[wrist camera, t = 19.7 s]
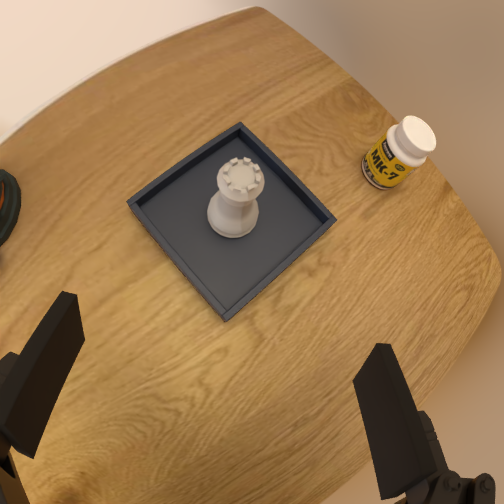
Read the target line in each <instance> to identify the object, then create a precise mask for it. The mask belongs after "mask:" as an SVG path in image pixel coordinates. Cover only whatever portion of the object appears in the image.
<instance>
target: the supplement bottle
mask: <svg viewBox="0 0 504 504" xmlns="http://www.w3.org/2000/svg"><path fill="white" fill-rule="evenodd" d="M435 146H436V139H435V135H434V134H433V131H432V130H431V128H430V127H429V126H428V125H427V124H426V123H425V122H424V121H423V120H421V119H420V118H417V117H415V116H407V117H405V118H404V119H403V120H402V121H401V122H400V123H399V124H397V125H394V126H392V127H390V128H389V129H388V130H387V131H386V133H385V134H384V135H383V136H382V137H381V138H380V139H379V140H378V142H377V143H376V144H375V145H374V146H373V147H372V148H371V149H370V150H369V152H367V154H366V155H365V156H364V158H363V161H362V169H363V172H364V175H365V176H366V178H367V179H368V180H369V182H371V183H372V184H373V185H374V186H376V187H377V188H380V189H385V190H387V189H391V188H393V187H395V186H396V185H397V184H398V183H400V182H401V181H402V180H403V179H405V178H406V177H407V176H409V175H410V174H411V173H412V172H414V171H415V170H416V169H417V168H419V167H420V166H421V165H422V164H423V163H424V162H425V160H426V157H427V156H428V155H429V154H430V152H432V151H433V150H434V149H435Z"/></svg>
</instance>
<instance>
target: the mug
mask: <svg viewBox="0 0 504 504" xmlns="http://www.w3.org/2000/svg"><path fill="white" fill-rule="evenodd" d="M20 207H21V190H20V188H19V186H18V183H17V181H16V179H15V178H14V177H13V176H12V175H11V174H9V173H8V172H6V171H5V170H3V169H0V246H1V245H2V244H3V243H4V242H5V241H6V240H7V239H8V237H9V235H10V234H11V232H12V230H13V228H14V226H15V224H16V223H17V219H18V215H19V211H20Z"/></svg>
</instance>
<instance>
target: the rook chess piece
mask: <svg viewBox="0 0 504 504" xmlns="http://www.w3.org/2000/svg"><path fill="white" fill-rule="evenodd" d="M250 161H251V159H249V158H245V157H244V159H243V160H238V159H237V158H234V159H232V160H230V162H228V163H226V164H225V165H224V166H223V167H222V168H221V169H220V170H219V173H218V176H217V183H218V187H219V191H218V192H217V193H216V194H215V195H214V196H213V197H212V198H211V200H210V203H209V206H208V210H207V215H208V221H209V223H210V225H211V227H212V228H213V229H214V230H215V231H216V232H217V233H219V234H220V235H222V236H225V237H229V238H237V237H242V236H244V235H246V234H248V233H250V231H251V230H252V229H253V228H254V227H255V225H256V222H257V218H258V214H259V210H258V203H257V201H256V200H255V199H256V197H257V196H258V195H259V194H260V193H261V192H262V190H263V187H264V183H265V182H264V175H263V173H262V172H261V170H260V167H259V166H258V164H253V163H252V162H250Z"/></svg>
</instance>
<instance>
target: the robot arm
mask: <svg viewBox="0 0 504 504" xmlns="http://www.w3.org/2000/svg"><path fill="white" fill-rule="evenodd" d="M84 341H85V337H84V332H83V327H82V322H81V316H80V310H79V305H78V298H77V295H76V294H72V293H68V292H64V291H62V292H61V293H60V294H59V296H58V297H57V299H56V300H55V301H54V303H53V304H52V306H51V307H50V309H49V310H48V312H47V313H46V315H45V316H44V317H43V319H42V320H41V322H40V323H39V325H38V326H37V328H36V330H35V331H34V333H33V334H32V336H31V337H30V339H29V340H28V342H27V344H26V345H25V347H24V348H23V350H22V352H21V353H20V355H18V354H15V353H13V352H9V353H8V354H7V355H5V356H4V357H3V358H2V359H1V360H0V504H30V503H29V500H28V498H27V496H26V493H25V491H24V488H23V486H22V483H21V481H20V478H19V475H18V473H17V470H16V467H15V464H14V461H13V458H12V455H11V453H10V451H9V450H10V448H11V445H12V446H13V447H14V449H15V450H16V451H17V452H19V453H21V454H23V455H26V456H28V457H30V458H32V459H34V456H35V453H36V451H37V448H38V445H39V443H40V440H41V437H42V435H43V432H44V430H45V427H46V425H47V422H48V420H49V417H50V415H51V412H52V410H53V408H54V405H55V403H56V401H57V398H58V396H59V394H60V392H61V389H62V387H63V385H64V383H65V381H66V378H67V376H68V374H69V372H70V370H71V368H72V366H73V363H74V361H75V359H76V357H77V355H78V353H79V351H80V349H81V347H82V345H83V343H84ZM353 384H354V388H355V392H356V395H357V399H358V403H359V407H360V410H361V414H362V418H363V422H364V426H365V430H366V434H367V438H368V442H369V447H370V451H371V455H372V460H373V464H374V468H375V473H376V477H377V482H378V487H379V492H380V496H381V500H385V499H390V498H394V497H397V496H399V495H401V494H402V493H404V492H405V494H406V497H405V498H403V499H401V500H399V501H398V502H396V503H395V504H495V481H494V479H493V478H492V477H491V476H490V475H489V474H487V473H483V474H481V475H479V476H478V477H476V478H475V479H471V478H460V476H459V475H458V474H457V473H456V472H454V471H451V470H449V469H448V467H447V464H446V461H445V458H444V455H443V452H442V449H441V446H440V443H439V441H438V440H437V435H436V432H434V427H433V424H432V422H431V419H430V418H429V417H428V415H427V414H426V413H425V412H424V411H417V408H416V406H415V403H414V400H413V398H412V395H411V393H410V390H409V388H408V385H407V383H406V380H405V378H404V375H403V373H402V370H401V368H400V365H399V363H398V361H397V358H396V356H395V354H394V351H393V349H392V347H391V344H383V343H376V345H375V347H374V348H373V350H372V352H371V353H370V355H369V356H368V358H367V359H366V361H365V363H364V364H363V366H362V367H361V369H360V370H359V372H358V373H357V375H356V376H355V378H354V379H353Z"/></svg>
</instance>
